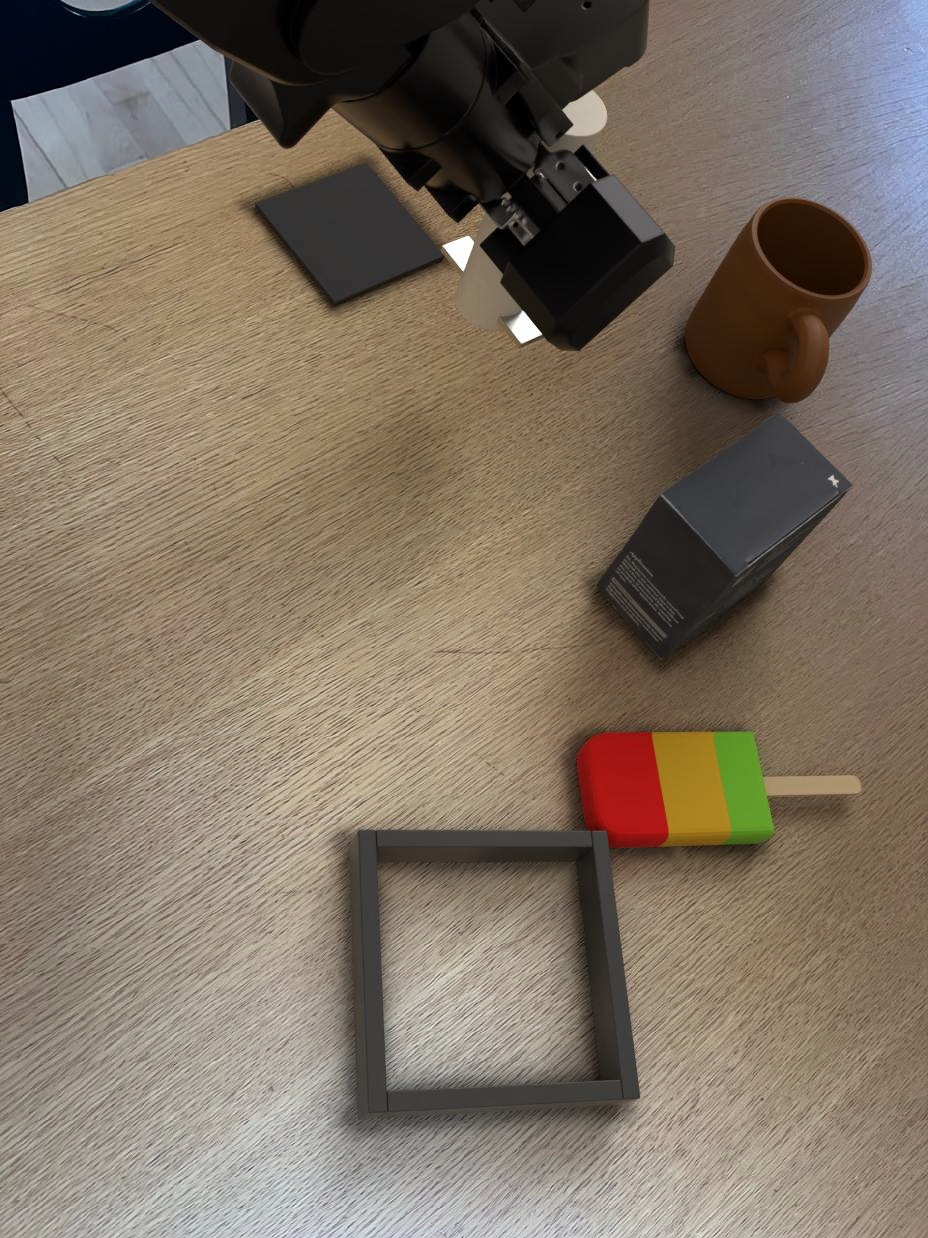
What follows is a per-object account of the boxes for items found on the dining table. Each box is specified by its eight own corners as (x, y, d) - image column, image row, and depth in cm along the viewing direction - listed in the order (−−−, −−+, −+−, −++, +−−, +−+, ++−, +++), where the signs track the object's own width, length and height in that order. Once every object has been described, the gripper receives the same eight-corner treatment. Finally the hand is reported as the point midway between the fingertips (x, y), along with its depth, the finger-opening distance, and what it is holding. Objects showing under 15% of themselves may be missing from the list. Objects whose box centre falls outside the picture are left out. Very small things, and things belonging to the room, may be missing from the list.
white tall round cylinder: (553, 341, 66) (647, 150, 55) (501, 364, 64) (586, 173, 53) (475, 245, 67) (551, 41, 56) (422, 266, 66) (489, 60, 55)
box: (703, 505, 71) (781, 405, 63) (771, 577, 70) (859, 486, 62) (590, 585, 67) (658, 490, 58) (661, 664, 66) (740, 578, 57)
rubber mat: (334, 305, 71) (334, 301, 71) (254, 206, 73) (255, 202, 72) (443, 258, 74) (444, 255, 74) (365, 165, 76) (366, 161, 76)
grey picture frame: (357, 1119, 52) (368, 1113, 50) (348, 845, 57) (357, 829, 55) (620, 1105, 55) (641, 1098, 53) (589, 845, 60) (607, 830, 58)
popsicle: (569, 742, 62) (582, 728, 61) (837, 741, 66) (856, 727, 65) (585, 852, 60) (599, 840, 58) (862, 843, 64) (882, 832, 62)
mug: (806, 475, 74) (892, 378, 66) (685, 452, 72) (758, 350, 64) (790, 317, 79) (868, 210, 71) (677, 293, 78) (744, 180, 70)
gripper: (748, 81, 42) (805, 222, 56) (426, -267, 46) (556, -53, 61) (501, 314, 45) (615, 391, 59) (222, -31, 49) (391, 118, 64)
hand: (546, 204), depth 61 cm, fingers closed on white tall round cylinder, 3 cm apart
